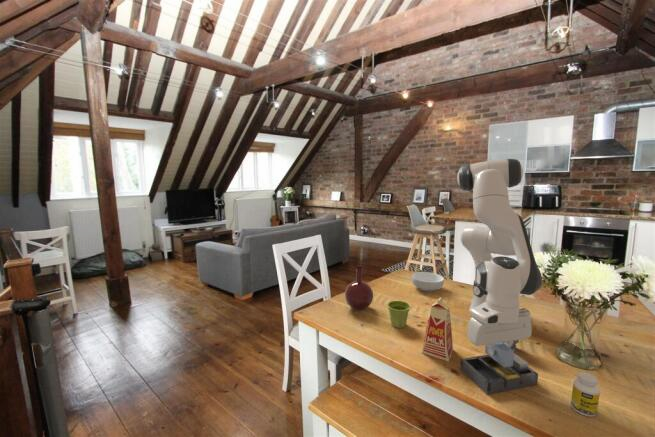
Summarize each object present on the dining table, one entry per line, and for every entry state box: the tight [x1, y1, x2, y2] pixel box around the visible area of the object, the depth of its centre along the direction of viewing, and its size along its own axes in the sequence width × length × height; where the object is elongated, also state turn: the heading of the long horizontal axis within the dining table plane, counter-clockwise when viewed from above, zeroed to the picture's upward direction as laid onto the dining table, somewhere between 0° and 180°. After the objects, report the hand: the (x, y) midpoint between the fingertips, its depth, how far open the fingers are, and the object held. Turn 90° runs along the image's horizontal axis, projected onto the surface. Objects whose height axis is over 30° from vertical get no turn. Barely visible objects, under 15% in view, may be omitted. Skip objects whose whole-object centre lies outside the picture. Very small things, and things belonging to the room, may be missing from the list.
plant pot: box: [387, 300, 412, 329], centre depth 129 cm, size 9×9×9 cm
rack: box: [459, 352, 539, 395], centre depth 96 cm, size 12×18×6 cm
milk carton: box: [421, 296, 454, 362], centre depth 109 cm, size 9×9×20 cm
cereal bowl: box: [411, 271, 445, 292], centre depth 168 cm, size 17×17×7 cm
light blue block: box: [484, 342, 515, 367], centre depth 95 cm, size 3×8×5 cm, turn 13°
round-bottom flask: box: [344, 266, 374, 311], centre depth 144 cm, size 13×13×20 cm
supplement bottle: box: [570, 371, 601, 418], centre depth 82 cm, size 5×5×10 cm
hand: (498, 353), depth 95 cm, fingers closed on light blue block, 3 cm apart
